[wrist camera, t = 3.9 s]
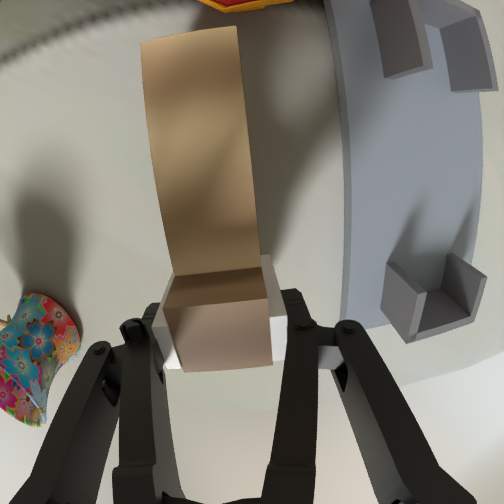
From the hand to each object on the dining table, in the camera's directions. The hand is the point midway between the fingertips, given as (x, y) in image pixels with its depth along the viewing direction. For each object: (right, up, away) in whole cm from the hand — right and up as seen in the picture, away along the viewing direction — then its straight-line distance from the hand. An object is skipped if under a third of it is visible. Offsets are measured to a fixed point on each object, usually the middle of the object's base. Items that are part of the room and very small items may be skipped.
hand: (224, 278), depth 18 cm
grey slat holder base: (+15, +9, +1) cm, 18 cm away
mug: (-20, -5, +5) cm, 22 cm away
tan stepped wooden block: (0, +5, -1) cm, 5 cm away
